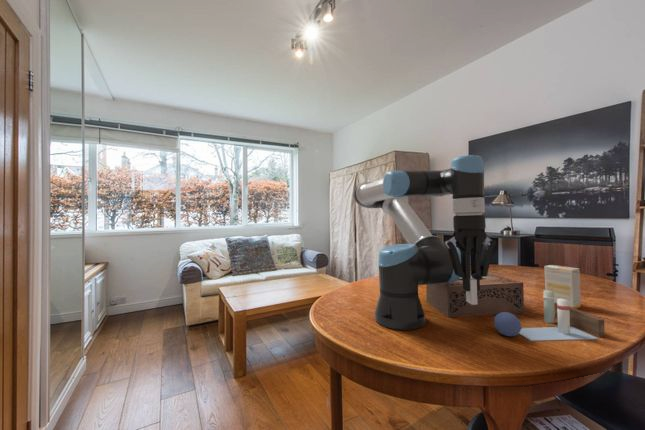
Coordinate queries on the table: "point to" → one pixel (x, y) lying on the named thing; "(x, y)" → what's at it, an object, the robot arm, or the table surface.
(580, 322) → the rail
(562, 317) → the pin
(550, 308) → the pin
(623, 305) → the table surface
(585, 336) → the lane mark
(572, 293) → the supplement box
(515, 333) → the ball
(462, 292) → the tissue box cover
